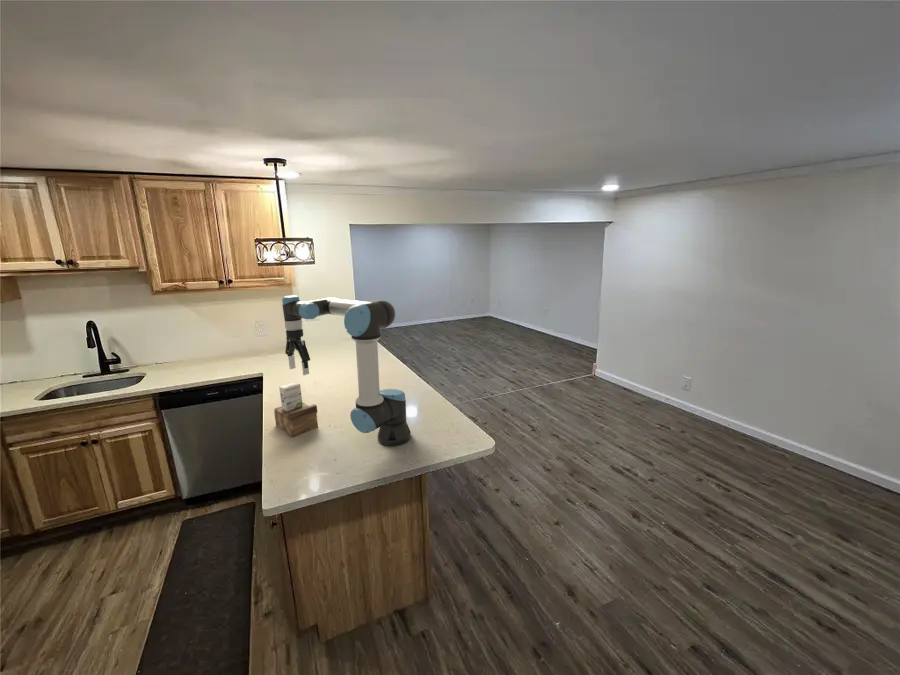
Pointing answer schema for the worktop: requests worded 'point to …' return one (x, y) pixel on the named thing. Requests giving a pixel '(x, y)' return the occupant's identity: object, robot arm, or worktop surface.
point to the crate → (296, 424)
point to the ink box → (290, 396)
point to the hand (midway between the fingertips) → (299, 371)
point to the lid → (298, 412)
